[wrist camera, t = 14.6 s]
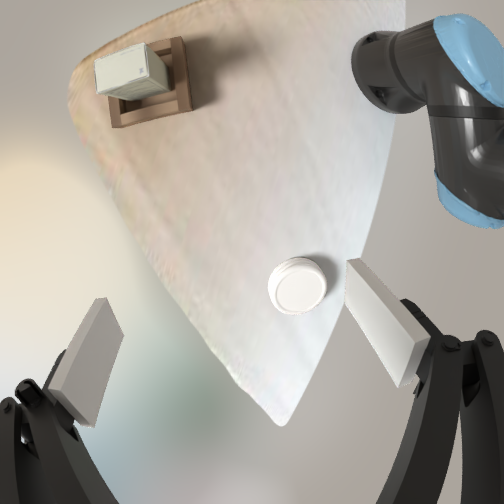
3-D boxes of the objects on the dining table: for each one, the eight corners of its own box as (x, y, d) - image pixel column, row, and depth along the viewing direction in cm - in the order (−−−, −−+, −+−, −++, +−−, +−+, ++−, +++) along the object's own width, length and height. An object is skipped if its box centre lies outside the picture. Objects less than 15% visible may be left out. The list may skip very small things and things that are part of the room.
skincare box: (168, 65, 30) (147, 39, 19) (172, 92, 32) (151, 76, 21) (127, 77, 30) (92, 59, 19) (130, 104, 32) (95, 94, 21)
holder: (184, 44, 30) (181, 36, 26) (193, 110, 35) (189, 108, 31) (114, 63, 29) (104, 58, 26) (121, 128, 34) (112, 127, 30)
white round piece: (298, 245, 45) (304, 254, 42) (331, 279, 49) (338, 289, 46) (255, 284, 48) (258, 295, 44) (291, 313, 51) (296, 325, 48)
